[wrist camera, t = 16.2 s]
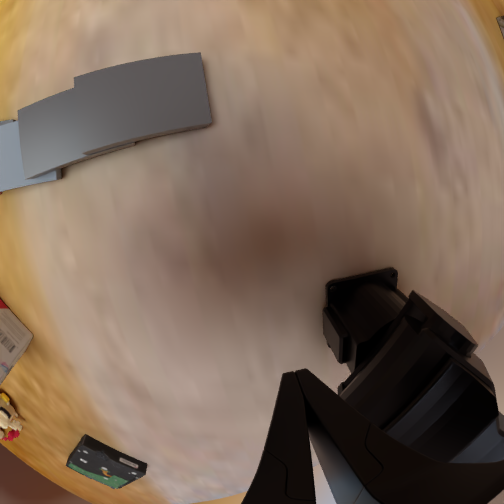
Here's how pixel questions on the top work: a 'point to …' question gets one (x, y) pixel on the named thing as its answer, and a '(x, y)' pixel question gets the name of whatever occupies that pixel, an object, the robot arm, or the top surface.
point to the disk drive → (105, 463)
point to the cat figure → (8, 418)
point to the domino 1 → (16, 161)
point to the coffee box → (501, 23)
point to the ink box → (11, 340)
